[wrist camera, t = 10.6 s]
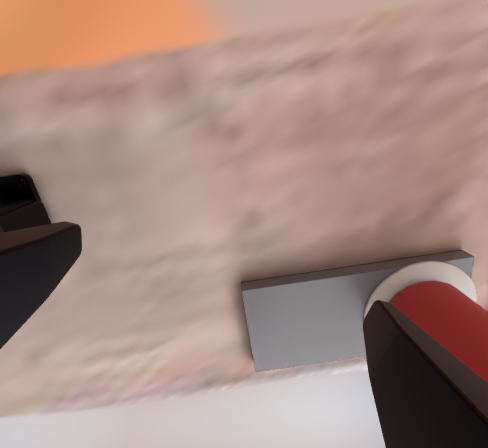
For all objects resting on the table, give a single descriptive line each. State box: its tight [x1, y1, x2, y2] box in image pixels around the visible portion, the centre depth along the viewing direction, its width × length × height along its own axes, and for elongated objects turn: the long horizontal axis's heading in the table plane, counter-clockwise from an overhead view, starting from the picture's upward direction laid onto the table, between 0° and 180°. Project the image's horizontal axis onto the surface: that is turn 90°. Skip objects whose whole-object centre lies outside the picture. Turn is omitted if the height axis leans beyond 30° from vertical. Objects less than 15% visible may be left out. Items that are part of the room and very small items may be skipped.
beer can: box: [389, 281, 488, 383], centre depth 17 cm, size 7×7×12 cm
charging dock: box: [241, 250, 476, 372], centre depth 24 cm, size 18×9×2 cm, turn 98°
